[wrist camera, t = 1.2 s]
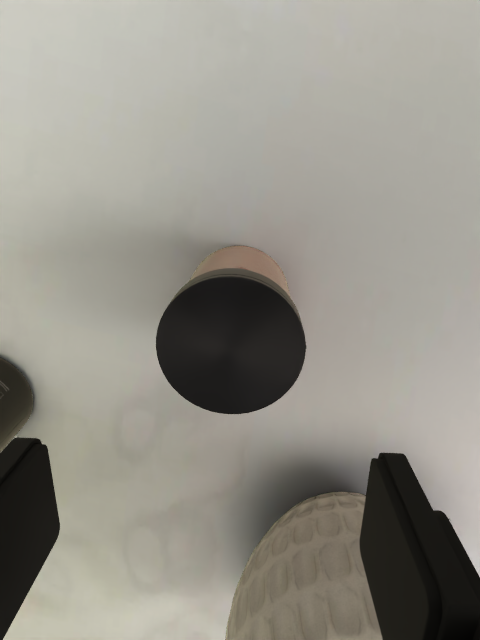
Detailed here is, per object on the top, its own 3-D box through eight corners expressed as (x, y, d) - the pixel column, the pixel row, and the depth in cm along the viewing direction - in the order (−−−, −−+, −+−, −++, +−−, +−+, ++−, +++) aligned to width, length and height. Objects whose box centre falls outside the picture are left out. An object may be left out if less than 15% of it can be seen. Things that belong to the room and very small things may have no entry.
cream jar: (291, 246, 27) (304, 280, 19) (285, 341, 29) (295, 407, 21) (189, 244, 27) (160, 276, 19) (191, 338, 29) (165, 402, 21)
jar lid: (308, 269, 20) (313, 278, 18) (299, 399, 22) (302, 417, 21) (160, 265, 20) (152, 274, 18) (166, 394, 22) (159, 411, 21)
